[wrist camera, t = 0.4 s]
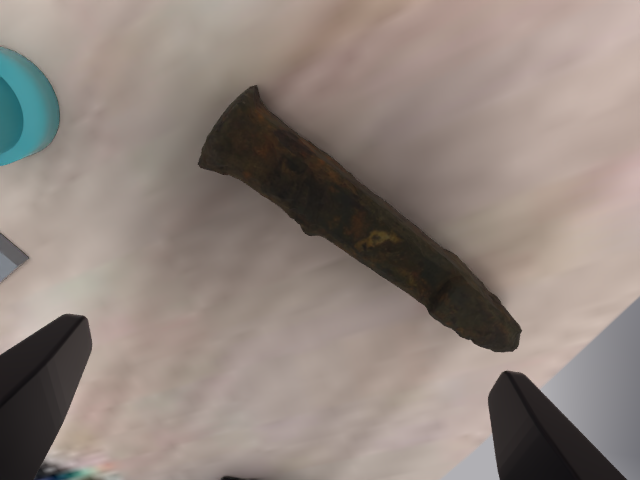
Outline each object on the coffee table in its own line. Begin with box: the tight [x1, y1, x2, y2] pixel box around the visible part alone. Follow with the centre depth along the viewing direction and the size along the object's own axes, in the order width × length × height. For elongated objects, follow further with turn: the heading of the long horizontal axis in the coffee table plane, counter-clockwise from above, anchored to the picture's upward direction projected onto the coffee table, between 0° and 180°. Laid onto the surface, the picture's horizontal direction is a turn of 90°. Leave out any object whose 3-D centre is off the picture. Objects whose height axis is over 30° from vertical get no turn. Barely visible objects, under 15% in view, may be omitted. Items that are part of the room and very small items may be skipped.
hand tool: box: [198, 85, 522, 352], centre depth 22 cm, size 19×4×5 cm, turn 50°
